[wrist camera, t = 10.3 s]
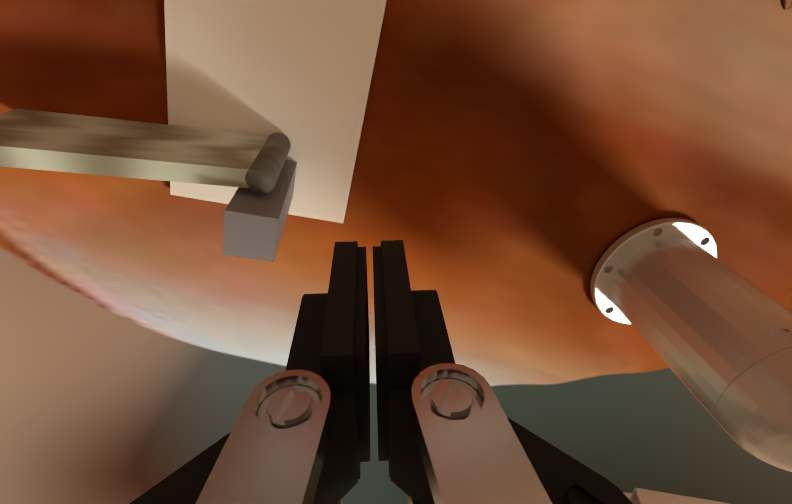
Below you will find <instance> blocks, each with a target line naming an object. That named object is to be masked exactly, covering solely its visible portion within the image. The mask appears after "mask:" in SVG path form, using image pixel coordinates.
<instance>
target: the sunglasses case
mask: <svg viewBox="0 0 792 504" xmlns="http://www.w3.org/2000/svg"><path fill="white" fill-rule="evenodd" d="M781 1H782V5H783V8H784V9H789V8H791V7H792V0H781Z"/></svg>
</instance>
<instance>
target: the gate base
mask: <svg viewBox="0 0 792 504" xmlns="http://www.w3.org/2000/svg"><path fill="white" fill-rule="evenodd" d="M386 1H387V0H164V12H165V42H166V73H167V103H168V125H177V126H186V127H195V128H205V129H214V130H223V131H233V132H242V133H251V134H260V135H270V134H272V133H276V132H279V133H282V134H284V135H286V136H287V137H288V139H289V141H290V144H291V147H290V150H289V153H288V155H287V158H286V160H285V162H284V165H283V167H282V170H281V172H280V175H279V177H278V180H277V182H276V185H275V187H274V189H273V190H272V191H270V192H269V193H265V194H259V193H256V192H254V191H252V190H251V189H250V188H241V187H230V186H218V185H207V184H196V183H184V182H173V181H170V195H176V196H182V197H188V198H194V199H200V200H206V201H212V202H218V203H224V204H228V206H227V207H226V209H225V216H224V243H223V255H230V256H237V257H244V258H251V259H258V260H265V261H272V262H274V260H275V256H276V253H277V249H278V246H279V242H280V239H281V236H282V232H283V229H284V225H285V222H286V218H287V215H288V214H290V215H296V216H302V217H308V218H314V219H320V220H326V221H332V222H338V223H343V222H344V217H345V212H346V207H347V201H348V196H349V191H350V186H351V181H352V176H353V171H354V165H355V160H356V155H357V150H358V145H359V140H360V135H361V129H362V124H363V119H364V114H365V109H366V104H367V99H368V93H369V88H370V83H371V78H372V73H373V68H374V63H375V57H376V52H377V47H378V42H379V37H380V32H381V27H382V21H383V16H384V11H385V6H386Z"/></svg>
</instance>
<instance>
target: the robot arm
mask: <svg viewBox="0 0 792 504" xmlns="http://www.w3.org/2000/svg"><path fill="white" fill-rule="evenodd" d="M373 272H374V310H375V346H376V383H377V420H378V454H379V461H385V460H386V461H387V460H389V477H391V481H392V482H394V483H395V484H396V485H397V486H398V487H399V488H401V489H402V490H403V491H404V492H405V493H406V494H408V502H409V504H728V503H722V502H716V501H711V500H705V499H699V498H692V497H687V496H681V495H675V494H669V493H663V492H657V491H651V490H646V489H639V488H635V490H634V492H633V494H631V493H625V492H622V491H621V490H620V489H619V488H618V487H616V486H615V485H614V484H612V483H611V482H610V481H609V480H607V479H606V478H604V477H603V476H601V475H599V474H598V473H596V472H594V471H593V470H591V469H590V468H588V467H587V466H585V465H583V464H582V463H580V462H579V461H577V460H575V459H574V458H572V457H570V456H569V455H567V454H566V453H564V452H562V451H561V450H559V449H558V448H556V447H554V446H553V445H551V444H550V443H548V442H546V441H545V440H543V439H541V438H540V437H538V436H537V435H535V434H533V433H532V432H530V431H529V430H527V429H525V428H524V427H522V426H521V425H519V424H517V423H516V422H514V421H512V420H511V419H509V418H508V417H506V415H505V413H504V411H503V409H502V407H501V406H500V404H499V402H498V400H497V398H496V396H495V394H494V392H493V390H492V389H491V387H490V385H489V384H488V382H487V381H486V380H485V378H484V377H483V376H481V375H480V374H479V373H477V372H476V371H475V370H473V369H470V368H468V367H466V366H464V365H459V364H455V361H454V357H453V353H452V349H451V345H450V341H449V337H448V333H447V329H446V325H445V321H444V317H443V314H442V310H441V306H440V302H439V298H438V294H437V291H436V290H418V291H411V288H410V282H409V276H408V270H407V263H406V257H405V251H404V245H403V240H394V241H381V246H380V247H373ZM590 294H591V297H592V300H593V302H594V304H595V305H596V307H597V308H598V309H599V310H600V312H601V313H602V314H603V315H604V316H606V317H607V318H609V319H610V320H613V321H616V322H619V323H624V324H632V325H633V326H634V327H635V328H636V329H637V331H638V332H639V333H640V334H641V335H642V336H643V337H644V339H645V340H646V341H647V342H648V343H649V344H650V345H651V347H652V348H653V349H654V350H655V351H656V352H657V353H658V355H659V356H660V357H661V358H662V359H663V360H664V361H665V363H666V364H667V365H668V366H669V367H670V368H671V369H672V371H673V372H674V373H675V374H676V375H677V376H678V377H679V379H680V380H681V381H682V382H683V383H684V384H685V385H686V387H687V388H688V389H689V390H690V391H691V392H692V393H693V395H694V396H696V398H697V399H698V400H699V401H700V403H701V404H702V405H703V406H704V407H705V408H706V409H707V411H708V412H709V413H710V414H711V415H712V416H713V417H714V418H715V419H716V420H717V421H718V423H719V424H720V425H721V426H722V427H723V429H724V430H725V431H726V432H727V433H728V434H729V435H730V436H731V437H732V438H733V440H735V441H736V442H737V443H738V444H739V445H740V446H741V447H742V448H744V449H745V450H746V451H747V452H749V453H751V454H752V455H754V456H755V457H757V458H758V459H760V460H762V461H764V462H766V463H769V464H771V465H773V466H775V467H778V468H781V469H784V470H787V471H790V472H792V310H790V309H789V308H787V307H786V306H785V305H783V304H782V303H780V302H779V301H777V300H776V299H774V298H773V297H772V296H770V295H769V294H767V293H766V292H764V291H763V290H762V289H760V288H759V287H757V286H756V285H754V284H753V283H751V282H750V281H749V280H747V279H746V278H744V277H743V276H741V275H740V274H739V273H737V272H736V271H734V270H733V269H731V268H730V267H728V266H727V265H726V264H724V263H723V262H721V261H720V260H718V259H717V246H716V243H715V240H714V238H713V236H712V235H711V234H710V233H709V232H708V230H706V229H705V228H703V227H702V226H700V225H699V224H697V223H695V222H693V221H691V220H687V219H682V218H664V219H658V220H654V221H651V222H648V223H645V224H642V225H640V226H638V227H636V228H634V229H632V230H630V231H629V232H627V233H626V234H624V235H623V236H621V237H620V238H619V239H618V240H616V241H615V242H614V243H613V244H612V245H611V246H610V247H609V248H608V249H607V250H606V252H605V253H604V254H603V255H602V256H601V258H600V260H599V261H598V263H597V264H596V266H595V269H594V271H593V274H592V277H591V282H590ZM368 461H370V371H369V318H368V291H367V263H366V247H358V244H357V241H355V242H335V247H334V254H333V261H332V268H331V276H330V283H329V290H328V293H325V294H304V295H303V297H302V301H301V305H300V310H299V314H298V318H297V323H296V327H295V332H294V336H293V341H292V345H291V349H290V354H289V358H288V363H287V367H286V371H283V372H279V373H276V374H274V375H272V376H270V377H268V378H266V379H265V380H263V381H262V382H261V383H260V384H259V385H258V386H256V387H255V388H254V390H253V391H252V393H251V394H250V395H249V397H248V399H247V401H246V403H245V405H244V407H243V409H242V411H241V413H240V415H239V417H238V419H237V421H236V423H235V425H234V427H233V429H232V431H231V432H230V433H229V434H227V435H226V436H224V437H223V438H222V439H220V440H219V441H217V442H216V443H215V444H213V445H212V446H210V447H209V448H208V449H206V450H205V451H203V452H202V453H200V454H199V455H198V456H196V457H195V458H193V459H192V460H191V461H189V462H188V463H186V464H185V465H184V466H182V467H181V468H179V469H178V470H176V471H175V472H174V473H172V474H171V475H169V476H168V477H167V478H165V479H164V480H162V481H161V482H160V483H158V484H157V485H155V486H154V487H152V488H151V489H150V490H148V491H147V492H145V493H144V494H143V495H141V496H140V497H138V498H137V499H136V500H134V501H133V502H131V503H130V504H342V498H343V497H344V496H345V495H346V494H347V493H348V492H349V490H350V489H352V487H353V486H354V485H355V484H356V483H357V482H358V479H360V462H368Z"/></svg>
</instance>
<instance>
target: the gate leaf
mask: <svg viewBox="0 0 792 504" xmlns="http://www.w3.org/2000/svg"><path fill="white" fill-rule="evenodd" d="M290 147H291V144H290V141H289V139H288V137H287V136H286V135H284V134H282V133H279V132H276V133H272V134H270V135H260V134H251V133H242V132H233V131H223V130H214V129H205V128H195V127H186V126H177V125H167V124H158V123H149V122H140V121H130V120H121V119H112V118H102V117H93V116H84V115H75V114H65V113H56V112H47V111H37V110H28V109H19V108H18V109H15V110H12V111H9V112H6V113H3V114H0V166H3V167H15V168H26V169H37V170H48V171H60V172H71V173H82V174H94V175H105V176H116V177H128V178H139V179H150V180H162V181H173V182H184V183H196V184H207V185H218V186H230V187H241V188H250V189H251V190H252V191H254V192H256V193H259V194H265V193H269V192H270V191H272V190H273V189H274V187H275V185H276V182H277V180H278V177H279V175H280V172H281V170H282V167H283V165H284V162H285V160H286V158H287V155H288V153H289V150H290Z"/></svg>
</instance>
